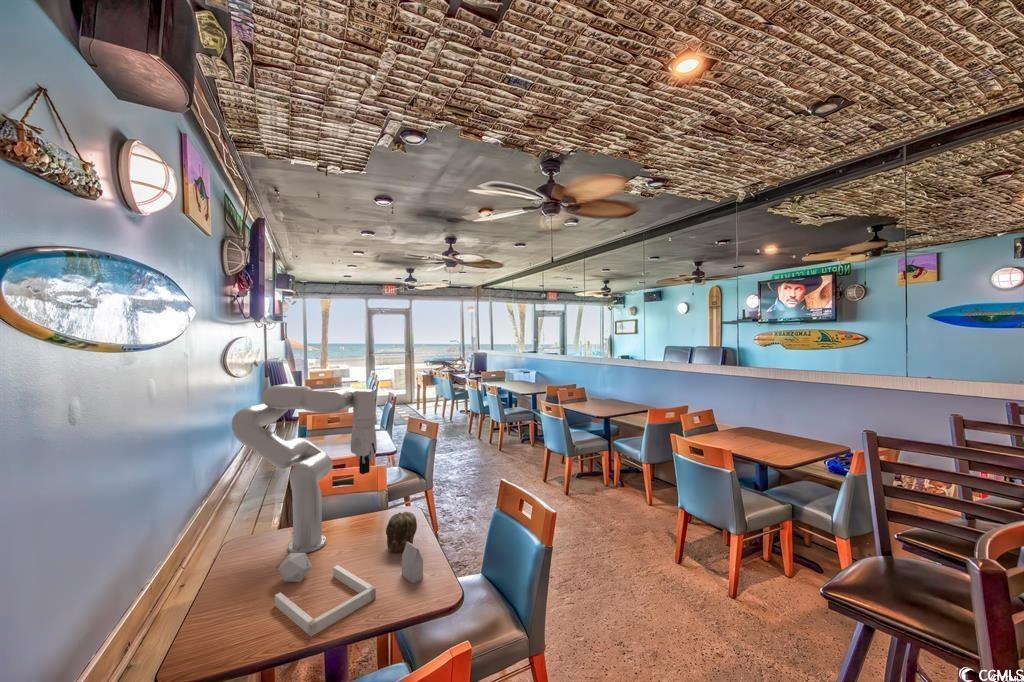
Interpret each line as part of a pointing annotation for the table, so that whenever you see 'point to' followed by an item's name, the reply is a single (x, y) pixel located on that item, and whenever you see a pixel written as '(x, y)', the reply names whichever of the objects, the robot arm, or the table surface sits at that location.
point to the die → (295, 567)
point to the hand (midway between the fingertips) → (364, 472)
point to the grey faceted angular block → (412, 563)
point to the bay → (334, 614)
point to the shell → (400, 531)
